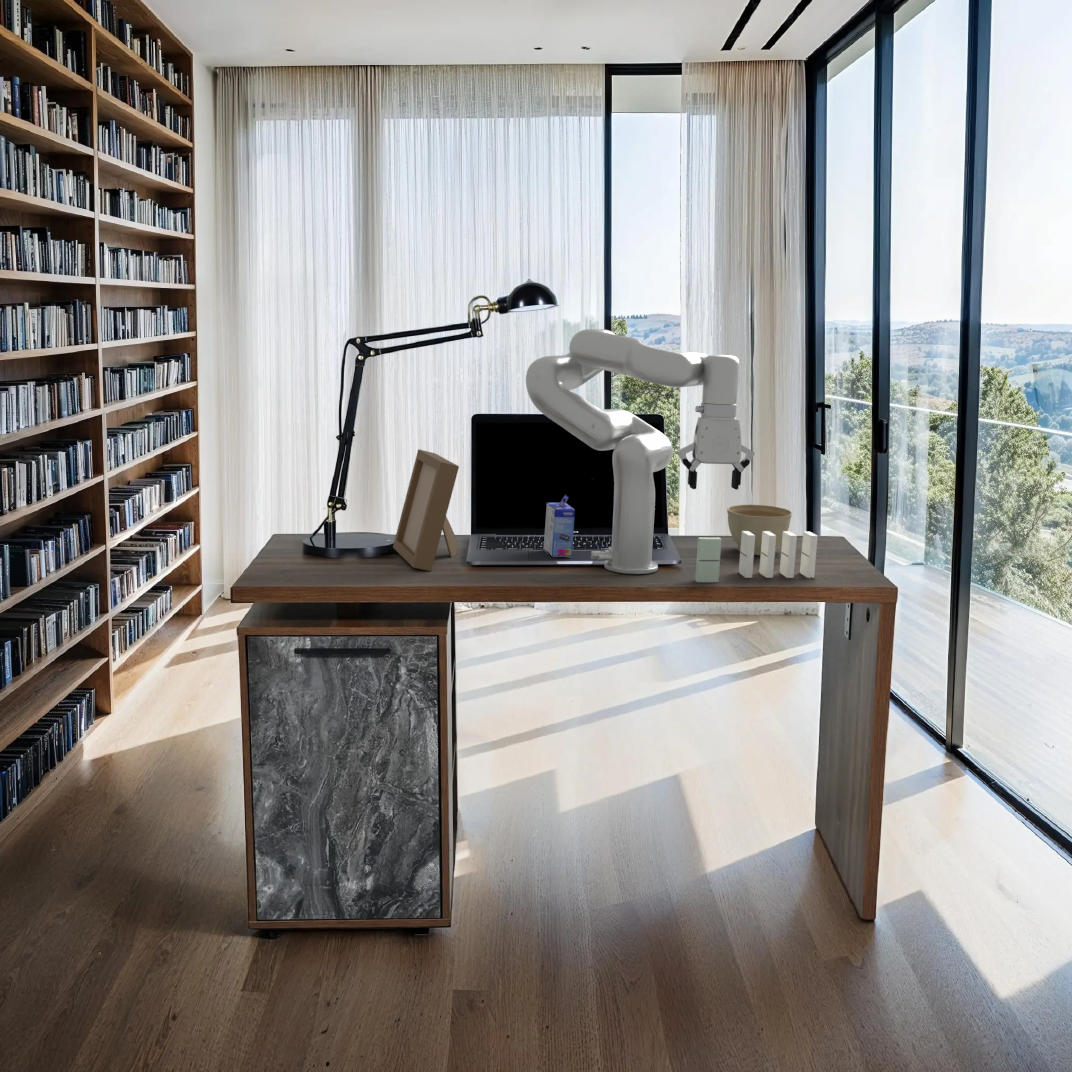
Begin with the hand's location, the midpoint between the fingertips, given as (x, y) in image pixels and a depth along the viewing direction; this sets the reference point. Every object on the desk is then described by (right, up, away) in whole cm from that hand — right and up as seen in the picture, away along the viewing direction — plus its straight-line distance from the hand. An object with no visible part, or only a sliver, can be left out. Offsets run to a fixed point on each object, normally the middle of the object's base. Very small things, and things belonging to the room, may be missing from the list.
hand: (713, 488), depth 254 cm
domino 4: (+19, -20, +13) cm, 31 cm away
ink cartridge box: (-34, -15, +27) cm, 46 cm away
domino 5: (+24, -20, +14) cm, 34 cm away
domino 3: (+14, -20, +12) cm, 27 cm away
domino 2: (+9, -20, +12) cm, 25 cm away
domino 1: (-1, -21, +4) cm, 21 cm away
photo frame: (-64, -17, +15) cm, 68 cm away
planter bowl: (+17, -15, +38) cm, 44 cm away
